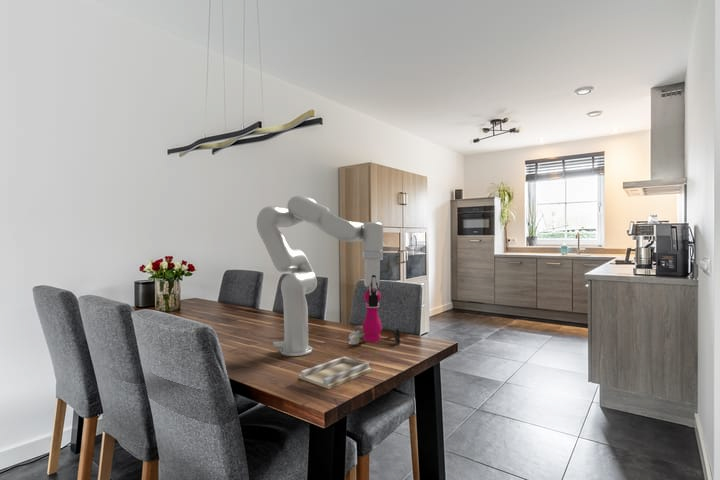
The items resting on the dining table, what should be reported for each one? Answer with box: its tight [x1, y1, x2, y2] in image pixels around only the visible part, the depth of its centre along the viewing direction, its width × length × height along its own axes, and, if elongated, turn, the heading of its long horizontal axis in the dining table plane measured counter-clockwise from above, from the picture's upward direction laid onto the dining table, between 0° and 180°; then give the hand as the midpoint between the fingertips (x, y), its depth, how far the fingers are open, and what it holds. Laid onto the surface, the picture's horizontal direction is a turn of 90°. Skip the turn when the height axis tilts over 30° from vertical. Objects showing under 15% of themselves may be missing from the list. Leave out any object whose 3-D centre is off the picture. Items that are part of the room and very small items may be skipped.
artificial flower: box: [348, 325, 401, 345], centre depth 164 cm, size 9×22×10 cm, turn 79°
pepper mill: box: [362, 286, 383, 343], centre depth 141 cm, size 7×7×20 cm
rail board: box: [298, 356, 373, 390], centre depth 127 cm, size 20×14×2 cm
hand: (372, 304), depth 141 cm, fingers closed on pepper mill, 5 cm apart
